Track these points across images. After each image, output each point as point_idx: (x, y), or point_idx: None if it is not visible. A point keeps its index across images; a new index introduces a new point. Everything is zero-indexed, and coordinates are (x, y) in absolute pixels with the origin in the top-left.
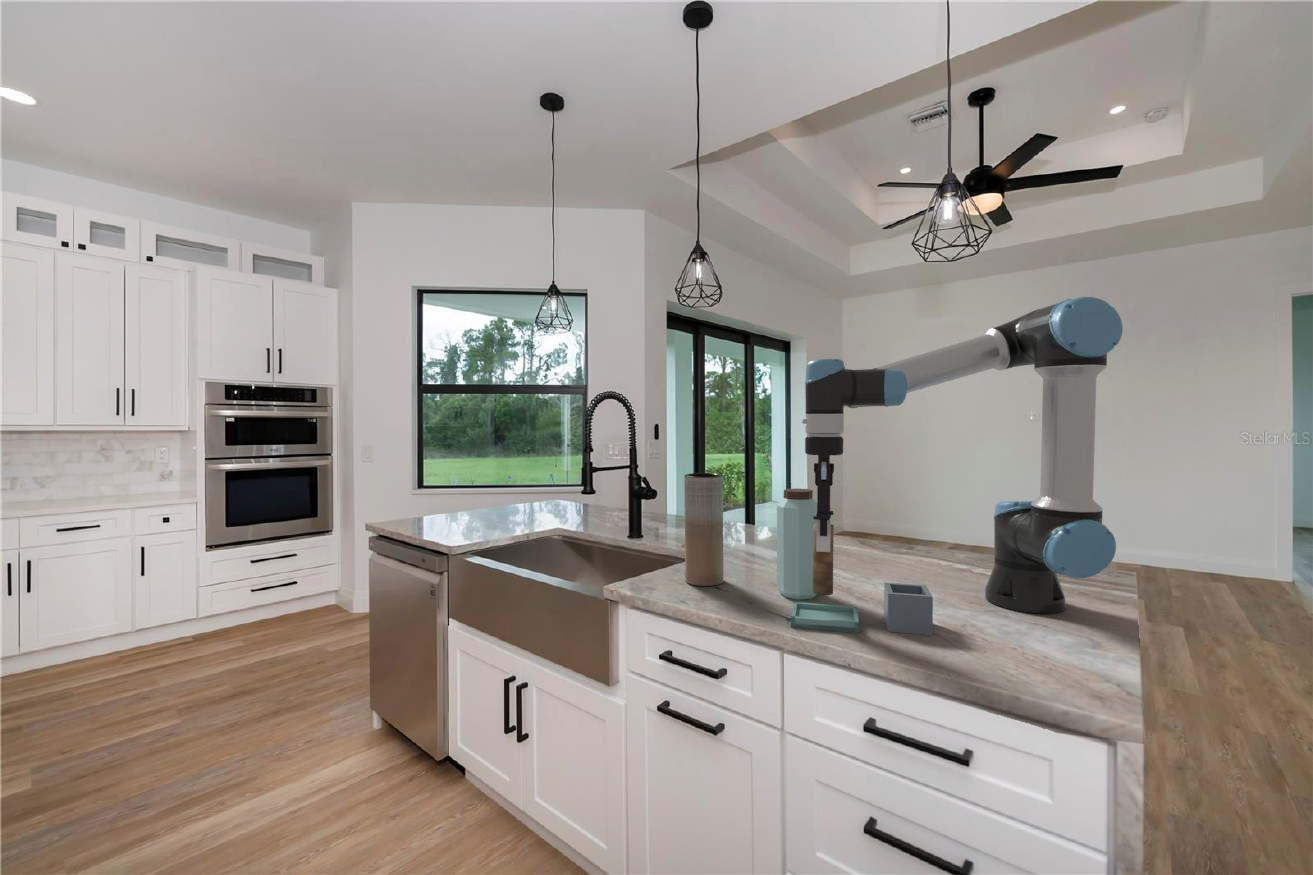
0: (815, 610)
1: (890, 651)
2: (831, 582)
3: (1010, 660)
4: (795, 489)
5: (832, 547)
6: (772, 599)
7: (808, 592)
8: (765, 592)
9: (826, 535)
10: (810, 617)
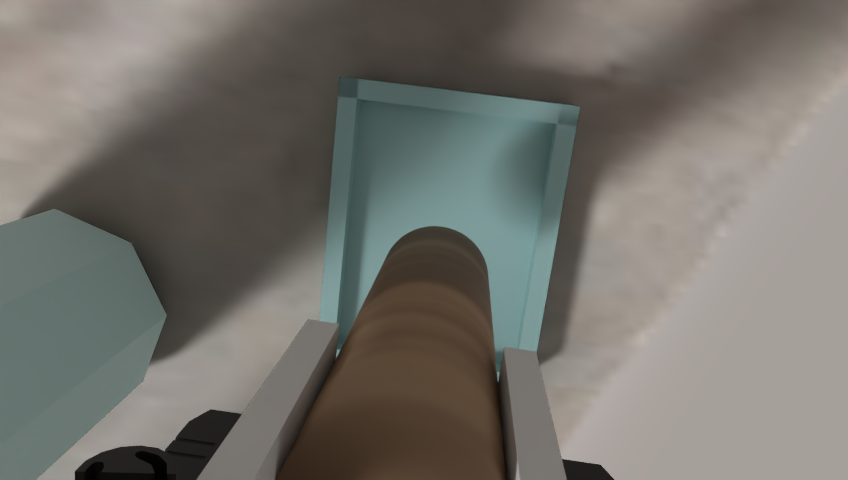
0: (361, 266)
1: (774, 6)
2: (470, 256)
3: None
4: None
5: (458, 332)
6: (185, 417)
7: (140, 277)
8: (93, 439)
9: (602, 476)
10: None
